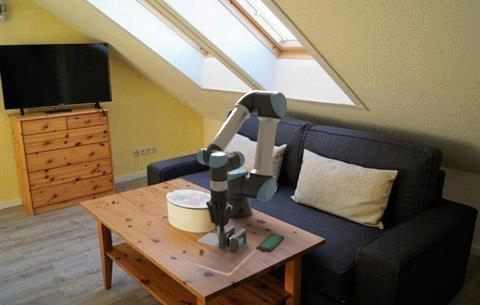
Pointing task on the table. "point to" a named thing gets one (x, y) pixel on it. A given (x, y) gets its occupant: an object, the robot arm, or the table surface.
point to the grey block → (228, 241)
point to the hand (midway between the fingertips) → (220, 238)
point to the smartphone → (270, 242)
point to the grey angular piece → (213, 241)
